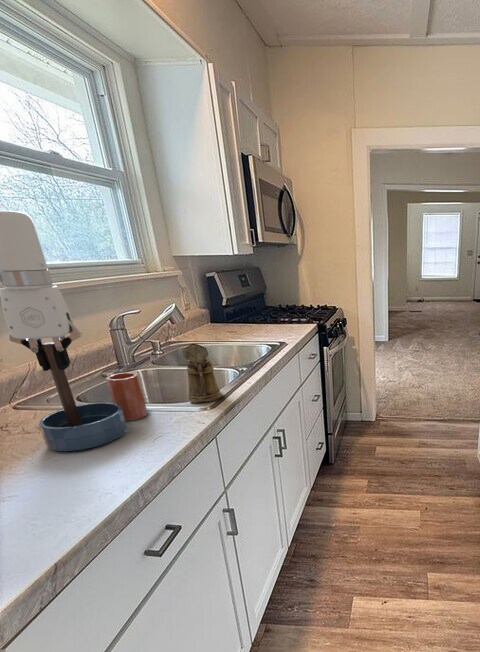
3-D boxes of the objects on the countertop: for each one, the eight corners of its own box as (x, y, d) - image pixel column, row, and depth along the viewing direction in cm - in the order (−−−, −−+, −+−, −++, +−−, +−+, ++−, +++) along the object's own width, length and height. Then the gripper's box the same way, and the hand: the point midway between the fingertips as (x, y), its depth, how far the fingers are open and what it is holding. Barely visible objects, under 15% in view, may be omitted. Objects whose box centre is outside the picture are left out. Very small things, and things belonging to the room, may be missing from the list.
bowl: (34, 458, 85) (24, 432, 82) (65, 428, 98) (57, 406, 96) (116, 448, 89) (109, 423, 86) (135, 421, 102) (129, 399, 100)
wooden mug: (187, 410, 109) (173, 345, 102) (189, 395, 120) (176, 335, 113) (222, 406, 112) (211, 342, 105) (220, 391, 123) (210, 332, 116)
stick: (68, 431, 92) (39, 344, 84) (72, 427, 94) (44, 342, 86) (80, 430, 92) (52, 344, 84) (84, 425, 94) (57, 341, 86)
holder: (114, 422, 102) (102, 381, 97) (122, 412, 108) (111, 373, 103) (143, 419, 103) (133, 378, 99) (150, 409, 109) (140, 371, 105)
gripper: (-34, 282, 75) (2, 376, 82) (66, 280, 79) (93, 370, 86) (-11, 279, 81) (21, 367, 88) (81, 277, 85) (104, 361, 93)
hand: (56, 368), depth 87 cm, fingers closed on stick, 2 cm apart
